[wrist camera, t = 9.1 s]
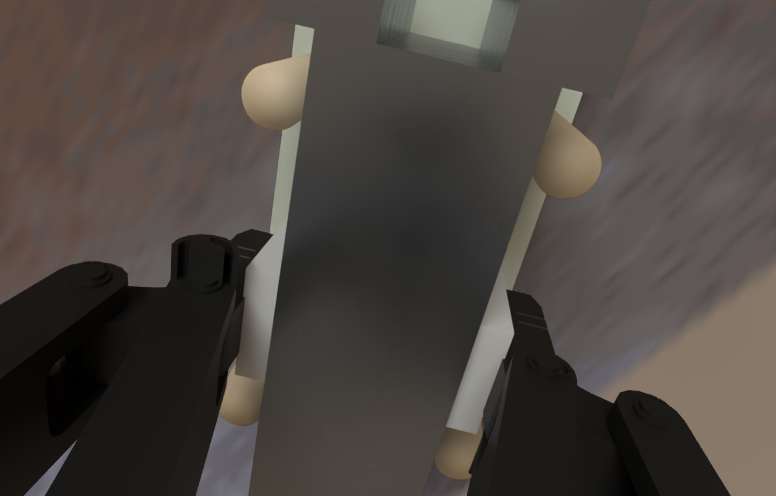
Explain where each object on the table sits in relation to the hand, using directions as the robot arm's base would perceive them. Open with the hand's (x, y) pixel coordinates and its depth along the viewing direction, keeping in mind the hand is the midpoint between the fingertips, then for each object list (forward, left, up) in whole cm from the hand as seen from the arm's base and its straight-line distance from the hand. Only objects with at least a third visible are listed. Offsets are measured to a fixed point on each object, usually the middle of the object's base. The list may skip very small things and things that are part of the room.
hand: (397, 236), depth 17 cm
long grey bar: (0, 0, 0) cm, 1 cm away
